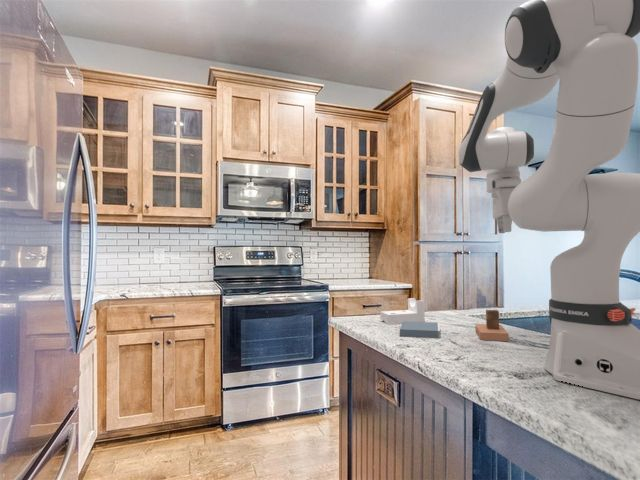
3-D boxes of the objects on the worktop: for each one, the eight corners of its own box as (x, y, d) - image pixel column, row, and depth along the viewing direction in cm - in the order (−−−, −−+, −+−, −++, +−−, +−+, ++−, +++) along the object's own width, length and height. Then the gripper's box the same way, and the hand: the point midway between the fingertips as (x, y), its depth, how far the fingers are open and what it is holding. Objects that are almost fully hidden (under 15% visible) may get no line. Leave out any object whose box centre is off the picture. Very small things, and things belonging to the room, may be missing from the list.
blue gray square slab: (399, 336, 108) (399, 328, 108) (403, 327, 120) (403, 321, 120) (440, 338, 105) (440, 330, 105) (439, 329, 117) (439, 322, 117)
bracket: (414, 319, 135) (414, 298, 135) (424, 323, 128) (424, 300, 128) (380, 321, 132) (380, 300, 132) (388, 325, 125) (388, 302, 125)
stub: (480, 339, 102) (479, 313, 102) (475, 330, 114) (474, 306, 114) (508, 341, 100) (507, 314, 100) (501, 331, 112) (500, 307, 112)
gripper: (486, 190, 121) (488, 234, 121) (496, 180, 102) (498, 231, 101) (508, 189, 119) (509, 233, 119) (522, 178, 100) (524, 231, 100)
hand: (504, 232), depth 110 cm, fingers open, 8 cm apart
